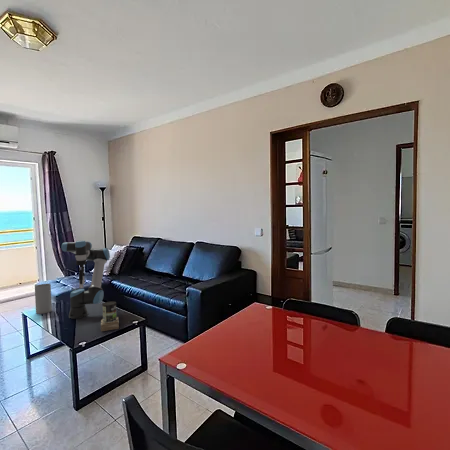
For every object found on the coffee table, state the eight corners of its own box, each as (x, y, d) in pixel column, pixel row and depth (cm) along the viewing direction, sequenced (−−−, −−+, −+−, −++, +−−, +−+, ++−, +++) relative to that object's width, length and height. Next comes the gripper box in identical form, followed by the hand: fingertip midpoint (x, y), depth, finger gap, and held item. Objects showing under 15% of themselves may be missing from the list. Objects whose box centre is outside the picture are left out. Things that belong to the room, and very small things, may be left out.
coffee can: (119, 318, 236) (118, 301, 235) (111, 323, 226) (111, 305, 225) (107, 317, 238) (107, 300, 237) (100, 322, 228) (99, 304, 227)
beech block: (101, 325, 235) (101, 319, 235) (118, 322, 240) (118, 316, 240) (101, 331, 223) (100, 324, 223) (118, 328, 228) (118, 322, 228)
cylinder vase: (46, 314, 262) (45, 287, 261) (32, 314, 263) (31, 287, 261) (54, 309, 275) (53, 283, 274) (41, 309, 275) (40, 283, 274)
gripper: (77, 257, 243) (78, 282, 244) (74, 262, 220) (75, 290, 221) (87, 257, 246) (88, 281, 247) (85, 262, 223) (86, 289, 224)
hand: (82, 285), depth 234 cm, fingers open, 13 cm apart
